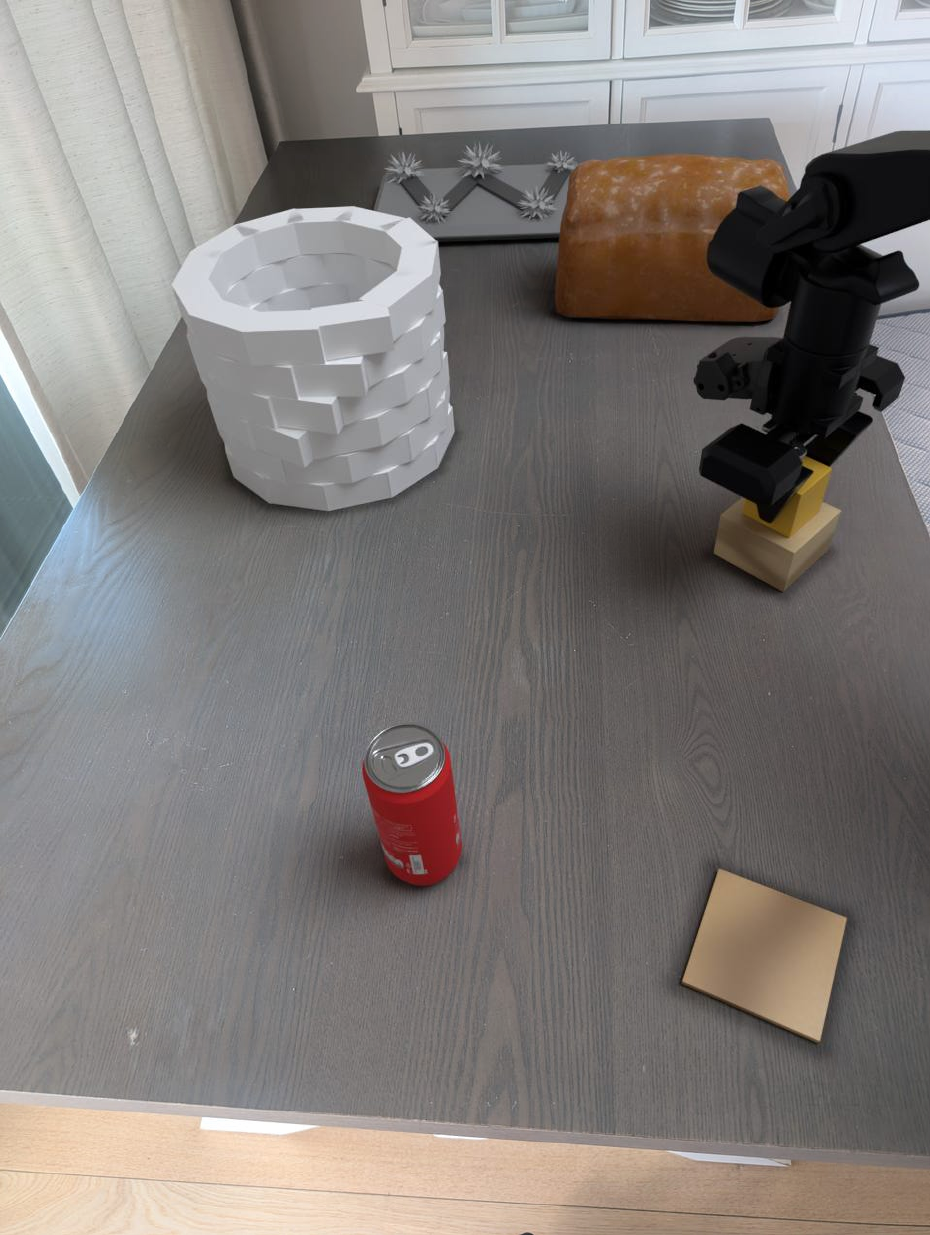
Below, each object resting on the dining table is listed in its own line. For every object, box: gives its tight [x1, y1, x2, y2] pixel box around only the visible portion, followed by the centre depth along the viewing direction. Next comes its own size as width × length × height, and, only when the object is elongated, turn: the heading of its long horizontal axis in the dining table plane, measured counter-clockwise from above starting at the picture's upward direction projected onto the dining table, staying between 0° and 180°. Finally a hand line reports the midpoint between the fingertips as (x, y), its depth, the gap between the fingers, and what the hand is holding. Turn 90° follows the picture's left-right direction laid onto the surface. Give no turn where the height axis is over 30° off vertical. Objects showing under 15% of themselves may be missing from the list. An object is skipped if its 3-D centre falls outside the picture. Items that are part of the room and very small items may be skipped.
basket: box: [170, 205, 456, 512], centre depth 86 cm, size 25×24×19 cm
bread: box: [554, 153, 791, 323], centre depth 102 cm, size 14×26×16 cm, turn 81°
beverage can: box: [361, 722, 463, 887], centre depth 56 cm, size 5×5×12 cm
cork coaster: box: [681, 868, 848, 1044], centre depth 54 cm, size 8×8×1 cm
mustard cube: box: [743, 456, 833, 538], centre depth 73 cm, size 4×4×4 cm
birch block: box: [713, 497, 842, 593], centre depth 76 cm, size 7×7×4 cm
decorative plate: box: [372, 140, 580, 243], centre depth 125 cm, size 30×22×7 cm
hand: (782, 505), depth 74 cm, fingers closed on mustard cube, 4 cm apart
